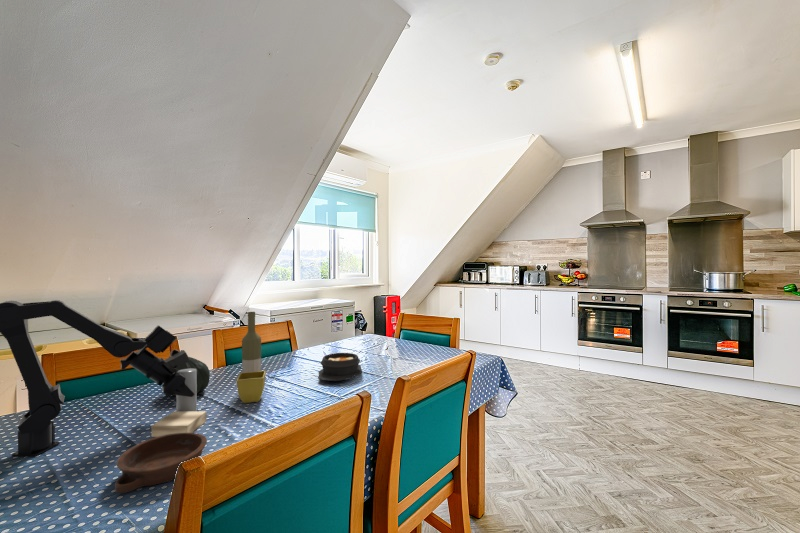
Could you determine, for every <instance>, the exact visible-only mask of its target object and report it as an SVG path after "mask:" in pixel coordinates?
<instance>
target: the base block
mask: <svg viewBox="0 0 800 533" xmlns="http://www.w3.org/2000/svg"><path fill="white" fill-rule="evenodd" d="M206 422H207V410H206V411H205V410H201V411H200V410H199V411H198V410H197V411H176V410H173V412H172V411H171V413H169V414H168V415H166V416H165V417H163V418H162V419H160V420H158V421H157V422H156V423H154V424H152V425H151V429H150V430H151V437H152V438H155V437H159V436H163V435H167V434H174V433H195V431H196V430H198V429H199V428H200V427H201V426H202V425H204V424H205V423H206Z"/></svg>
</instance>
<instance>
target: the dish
mask: <svg viewBox="0 0 800 533" xmlns="http://www.w3.org/2000/svg"><path fill="white" fill-rule="evenodd" d="M207 443H208V440H207V437H206V436H205V435H204V434H201V433H196V432H192V433H174V434H167V435H163V436H159V437H152V438H150V439H149V438H148V439H147V440H146V439H145V440H143V441H142V442H139V443H138V444H136V445H134V446H132V447H130V448H128V449H126V451H124V452H123V453H122V454H121V455H119V457H118V459H117V460H116V468H118V469H119V470H120V471H121V473H122V474H121V476H119V477H118V478H117V479H116V480H115V483H114V492H115V493H117V494H126V493H128V492H132V491H134V490H137V489H139V488H141V487H150V486H156V485H160V484H164V483H166V482H168V483H169V482H170V481H173V480H175V479H176V478H175V474H176V471H177V468H178V466H179V464H180V463H181V462H184V461H187V460H190V459H192V458H195V457H198V456H202V453H203V451H204V448H205V447H206V445H207ZM174 478H175V479H174Z"/></svg>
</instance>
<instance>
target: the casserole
mask: <svg viewBox="0 0 800 533" xmlns="http://www.w3.org/2000/svg"><path fill="white" fill-rule="evenodd" d="M360 362H361V359H360V358H359V356H358V354H355V353H351V352H334V353H329V354H326V355H324V356H323V357H322V360H321V361H320V365H321V367H322V369H320V370H319V371H318V377H317V379H318V380H320V381H325V382H326V381H327V382H341V381H345V380H347V379H350V378H353V377H356V376H359V375H361V374H362V373H363V370H362V366H361V365H360Z"/></svg>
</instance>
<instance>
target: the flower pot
mask: <svg viewBox="0 0 800 533" xmlns="http://www.w3.org/2000/svg"><path fill="white" fill-rule="evenodd" d="M265 383H266V370H261V371H258V372H246V373H243V372H240V373H239V374H238V377H237V378H236V387H237V393H238V396H239V399H240V400H241V402H242V403H244V404H248V403H255V402H256V403H257V402H260V400H261V398H262V396H263V392H264V389H265V385H266V384H265Z"/></svg>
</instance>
